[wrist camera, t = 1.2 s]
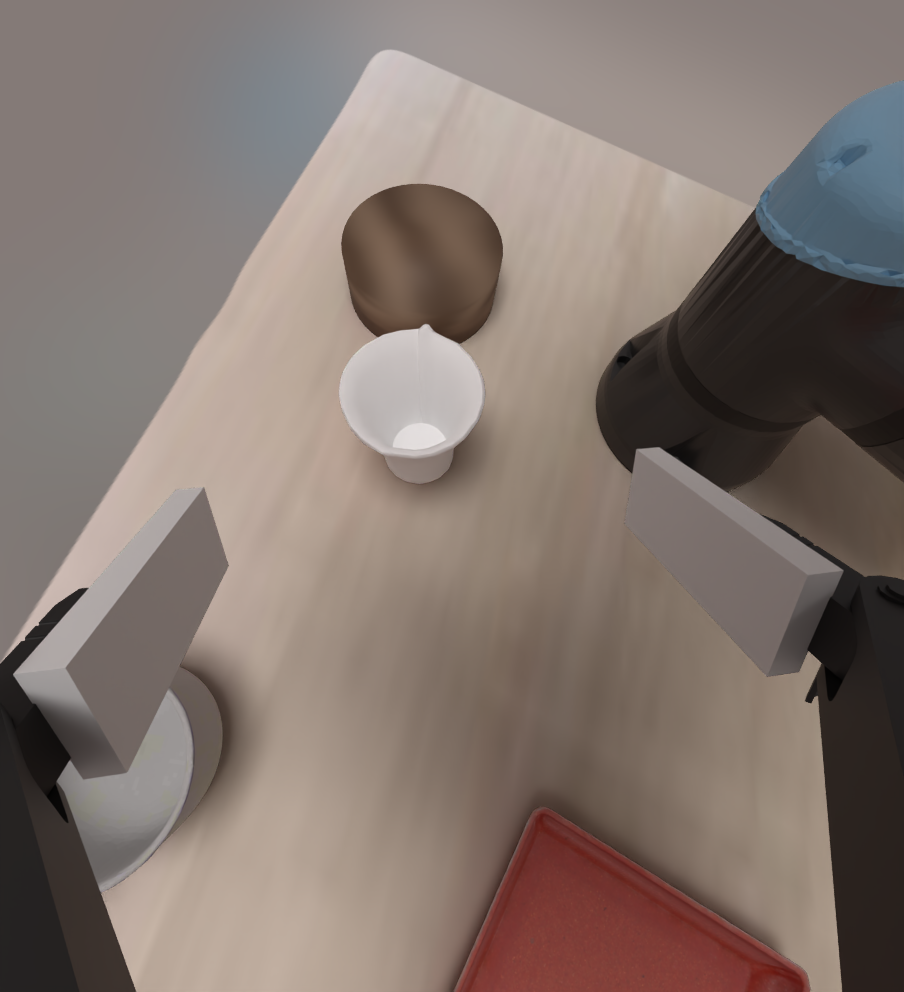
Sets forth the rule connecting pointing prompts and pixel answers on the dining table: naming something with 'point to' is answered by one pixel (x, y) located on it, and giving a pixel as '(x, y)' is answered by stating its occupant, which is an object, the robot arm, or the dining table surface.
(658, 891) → the plant saucer
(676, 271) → the dining table surface
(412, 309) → the walnut stand
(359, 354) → the cup
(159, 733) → the teacup
